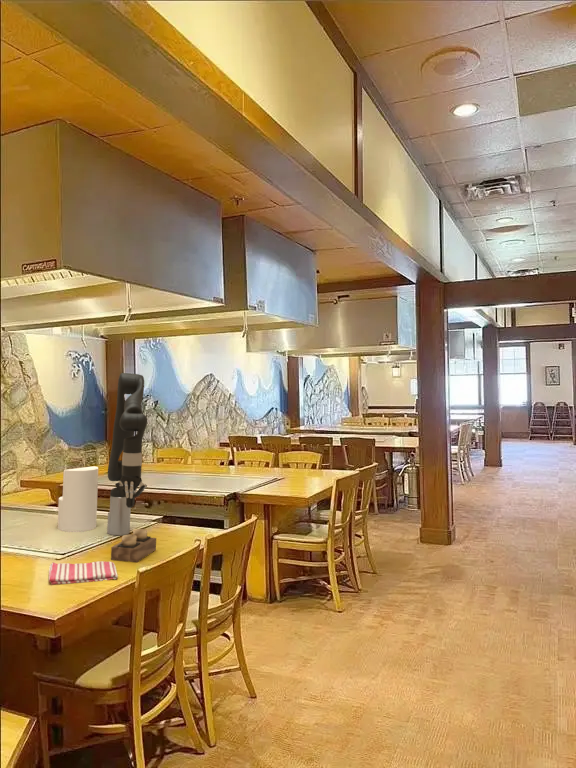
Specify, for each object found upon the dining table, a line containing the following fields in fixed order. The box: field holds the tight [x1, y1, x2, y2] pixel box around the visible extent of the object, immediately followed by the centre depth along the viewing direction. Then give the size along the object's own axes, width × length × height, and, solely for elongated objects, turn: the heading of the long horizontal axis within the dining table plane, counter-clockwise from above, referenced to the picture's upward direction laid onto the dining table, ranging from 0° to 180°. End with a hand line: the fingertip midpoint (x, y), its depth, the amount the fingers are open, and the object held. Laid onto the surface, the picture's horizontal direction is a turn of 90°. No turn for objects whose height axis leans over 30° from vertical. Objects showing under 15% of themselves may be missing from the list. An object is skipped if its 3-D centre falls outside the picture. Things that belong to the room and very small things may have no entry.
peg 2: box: [132, 528, 148, 540], centre depth 248 cm, size 6×6×9 cm
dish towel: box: [48, 560, 119, 586], centre depth 217 cm, size 17×23×4 cm
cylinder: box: [57, 465, 99, 533], centre depth 284 cm, size 17×17×28 cm
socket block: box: [110, 535, 157, 563], centre depth 244 cm, size 11×18×6 cm, turn 169°
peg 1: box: [121, 534, 137, 546], centre depth 239 cm, size 6×6×9 cm
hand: (130, 507), depth 239 cm, fingers closed
